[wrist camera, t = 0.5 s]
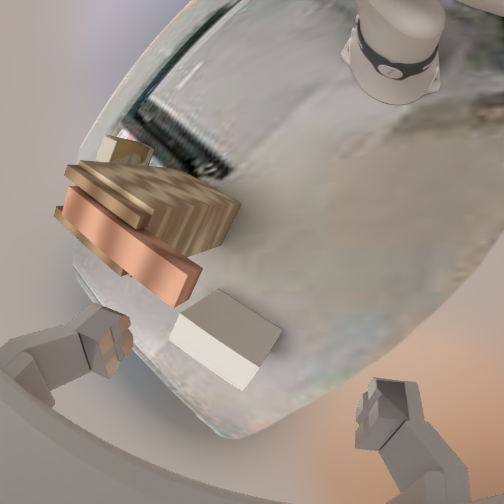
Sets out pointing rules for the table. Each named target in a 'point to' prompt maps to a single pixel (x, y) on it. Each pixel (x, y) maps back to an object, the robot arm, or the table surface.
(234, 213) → the chute stand
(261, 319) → the shelf
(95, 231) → the bar
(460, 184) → the table surface
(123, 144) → the skincare box
